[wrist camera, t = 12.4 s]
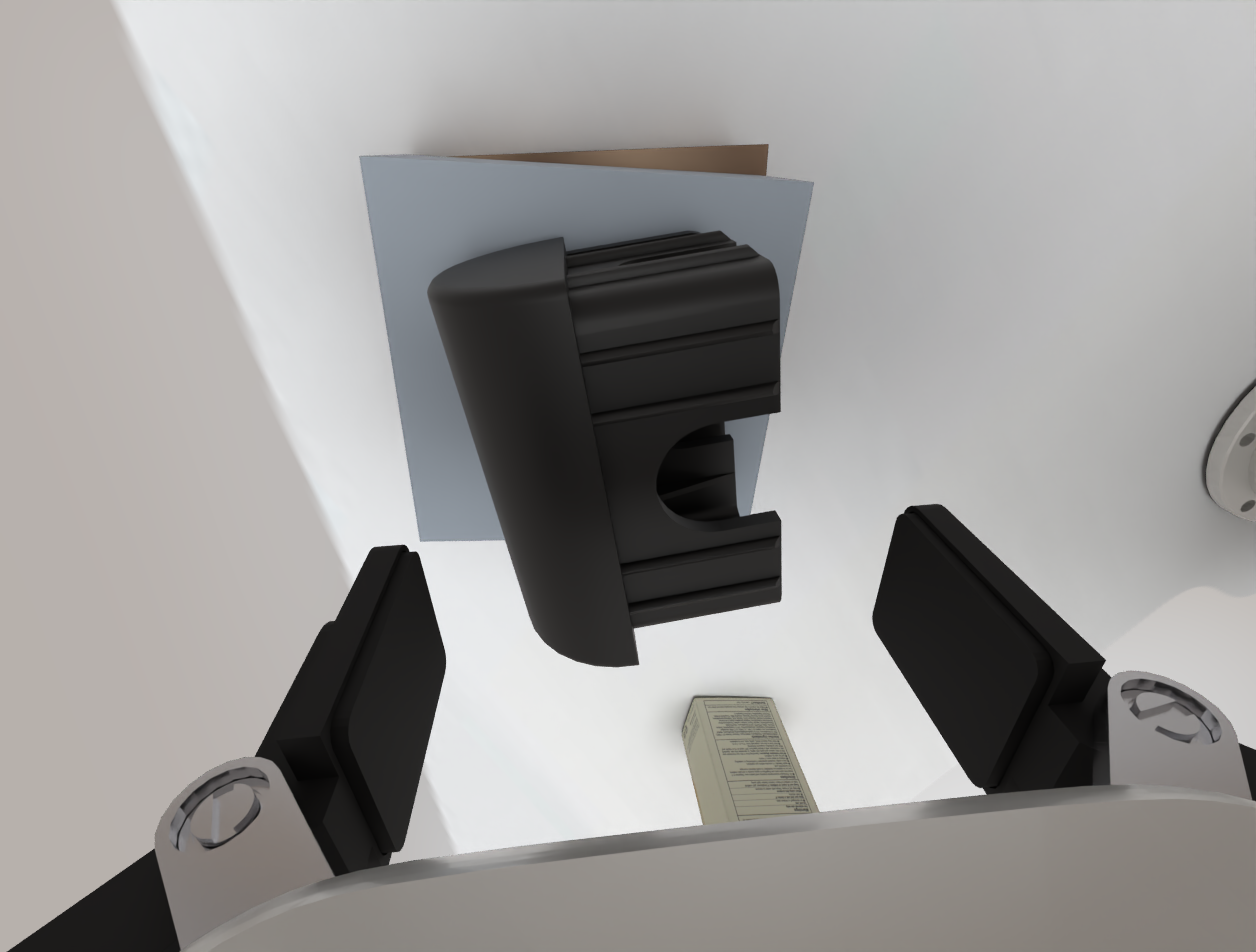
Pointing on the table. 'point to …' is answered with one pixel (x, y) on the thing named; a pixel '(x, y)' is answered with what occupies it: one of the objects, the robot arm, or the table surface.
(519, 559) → the end cap
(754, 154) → the walnut base block
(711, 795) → the skincare box
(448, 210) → the slate top block
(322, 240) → the table surface
